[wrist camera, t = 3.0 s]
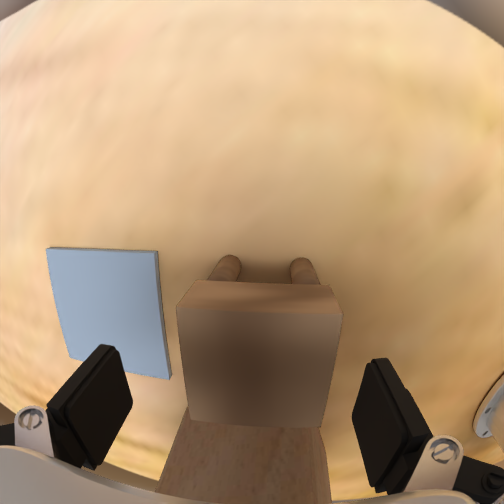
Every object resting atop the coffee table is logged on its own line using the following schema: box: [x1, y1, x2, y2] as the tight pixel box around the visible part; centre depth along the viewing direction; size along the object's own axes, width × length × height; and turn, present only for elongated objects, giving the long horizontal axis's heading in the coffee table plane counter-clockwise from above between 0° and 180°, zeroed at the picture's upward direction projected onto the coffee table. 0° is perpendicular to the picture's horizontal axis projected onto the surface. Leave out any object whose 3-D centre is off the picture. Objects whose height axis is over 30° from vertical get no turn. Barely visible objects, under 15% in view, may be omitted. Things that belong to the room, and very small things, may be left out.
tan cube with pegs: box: [176, 255, 343, 428], centre depth 15 cm, size 6×6×8 cm
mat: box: [46, 247, 172, 380], centre depth 19 cm, size 10×10×1 cm
